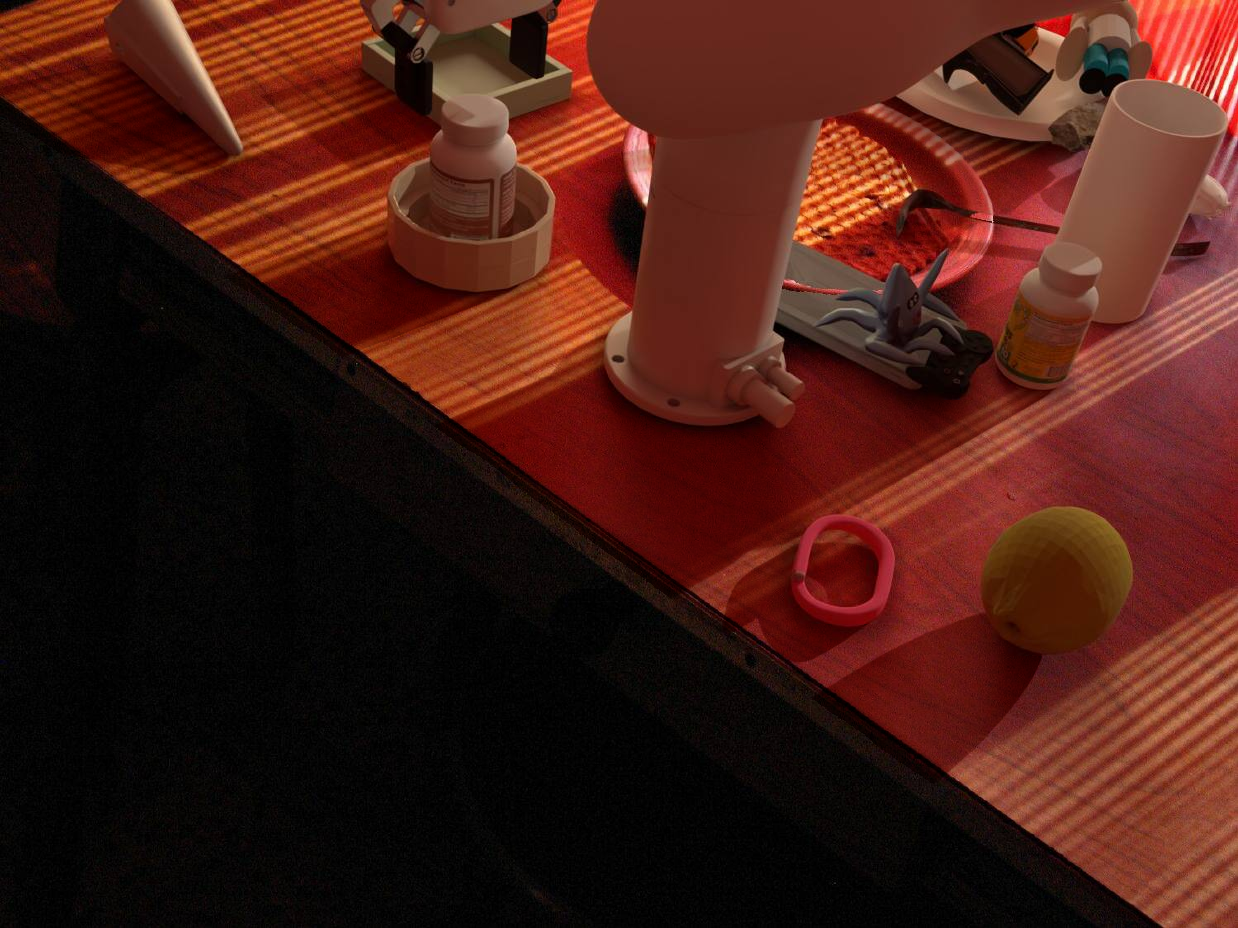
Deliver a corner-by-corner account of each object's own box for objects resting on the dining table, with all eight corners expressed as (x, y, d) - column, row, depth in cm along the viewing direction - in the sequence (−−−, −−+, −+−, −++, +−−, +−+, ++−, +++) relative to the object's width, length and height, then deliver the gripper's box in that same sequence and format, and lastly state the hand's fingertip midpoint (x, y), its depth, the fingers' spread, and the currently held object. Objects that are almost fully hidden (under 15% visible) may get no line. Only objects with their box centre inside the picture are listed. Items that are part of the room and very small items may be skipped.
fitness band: (805, 517, 86) (810, 500, 85) (897, 543, 86) (903, 526, 85) (780, 612, 81) (785, 595, 80) (878, 640, 80) (884, 623, 79)
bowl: (583, 260, 104) (588, 210, 101) (455, 316, 98) (456, 263, 95) (484, 187, 110) (486, 137, 107) (357, 234, 104) (355, 182, 100)
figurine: (832, 301, 102) (871, 208, 98) (983, 371, 100) (1030, 279, 96) (794, 349, 95) (835, 251, 90) (956, 426, 92) (1006, 329, 88)
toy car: (1113, 151, 125) (1125, 117, 122) (1234, 211, 119) (1249, 177, 117) (1084, 169, 122) (1096, 135, 120) (1206, 231, 117) (1221, 197, 114)
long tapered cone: (296, 97, 109) (168, -20, 117) (225, 127, 106) (99, 5, 114) (303, 154, 114) (180, 37, 122) (235, 185, 111) (113, 63, 119)
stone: (1107, 106, 128) (1109, 76, 126) (1157, 115, 125) (1160, 85, 123) (1030, 155, 121) (1032, 123, 119) (1081, 166, 118) (1084, 134, 116)
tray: (570, 98, 122) (573, 71, 120) (455, 137, 115) (456, 109, 113) (475, 35, 129) (476, 9, 127) (361, 69, 122) (361, 41, 120)
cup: (1146, 275, 111) (1226, 94, 100) (1146, 334, 105) (1232, 148, 94) (1043, 251, 112) (1112, 69, 101) (1038, 308, 106) (1110, 121, 95)
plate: (849, 121, 124) (853, 104, 123) (872, 6, 142) (876, -10, 141) (1129, 179, 122) (1136, 162, 121) (1117, 54, 140) (1123, 39, 139)
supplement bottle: (1058, 401, 98) (1105, 291, 91) (985, 376, 99) (1026, 265, 92) (1072, 360, 101) (1118, 251, 95) (1001, 336, 103) (1042, 227, 96)
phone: (728, 284, 102) (726, 298, 103) (921, 381, 96) (916, 394, 97) (786, 235, 107) (783, 249, 107) (973, 324, 101) (968, 338, 101)
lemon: (1034, 548, 87) (1077, 455, 81) (1137, 628, 83) (1189, 536, 77) (920, 624, 81) (958, 529, 76) (1025, 713, 77) (1072, 620, 72)
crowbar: (902, 213, 109) (899, 180, 113) (894, 237, 111) (892, 204, 115) (1225, 268, 109) (1212, 233, 113) (1213, 291, 111) (1200, 256, 115)
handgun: (1117, -51, 127) (995, -95, 130) (1031, 110, 122) (906, 61, 125) (1111, -33, 129) (991, -76, 132) (1026, 126, 125) (904, 78, 128)
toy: (1071, 37, 123) (1070, -28, 134) (1048, 98, 127) (1049, 30, 138) (1165, 59, 122) (1157, -8, 133) (1139, 119, 127) (1133, 49, 137)
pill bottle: (480, 211, 107) (486, 80, 99) (528, 251, 104) (538, 118, 96) (412, 234, 104) (412, 100, 96) (459, 276, 100) (463, 141, 93)
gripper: (403, -121, 77) (400, 148, 89) (631, -169, 86) (601, 80, 98) (326, -169, 80) (333, 96, 92) (553, -209, 90) (533, 36, 102)
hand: (471, 88), depth 95 cm, fingers open, 9 cm apart
